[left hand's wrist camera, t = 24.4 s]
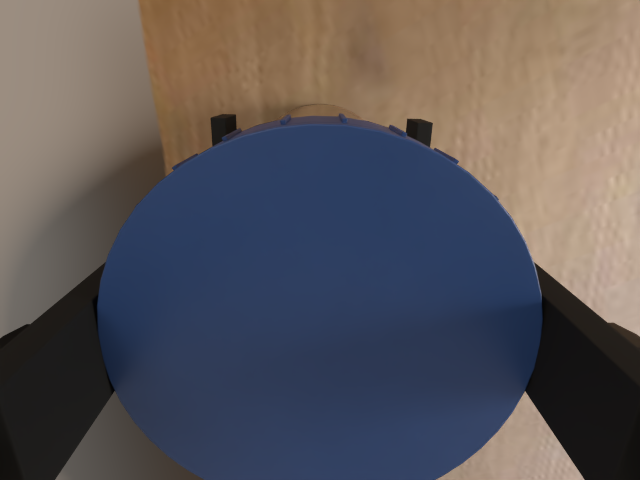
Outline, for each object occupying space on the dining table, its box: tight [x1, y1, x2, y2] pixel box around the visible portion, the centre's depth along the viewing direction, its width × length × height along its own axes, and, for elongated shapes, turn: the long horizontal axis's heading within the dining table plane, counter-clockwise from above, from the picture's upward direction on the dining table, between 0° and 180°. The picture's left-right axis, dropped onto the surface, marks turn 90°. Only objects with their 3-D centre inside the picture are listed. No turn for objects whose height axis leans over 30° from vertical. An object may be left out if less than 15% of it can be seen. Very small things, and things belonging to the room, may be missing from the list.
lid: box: [97, 113, 543, 480], centre depth 11 cm, size 11×11×2 cm
